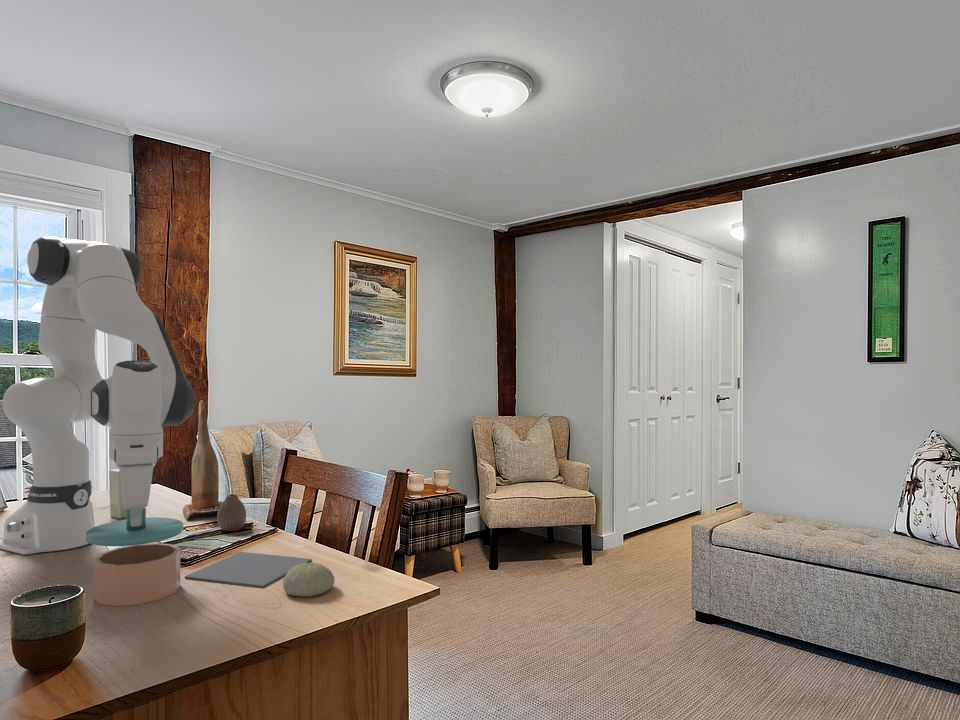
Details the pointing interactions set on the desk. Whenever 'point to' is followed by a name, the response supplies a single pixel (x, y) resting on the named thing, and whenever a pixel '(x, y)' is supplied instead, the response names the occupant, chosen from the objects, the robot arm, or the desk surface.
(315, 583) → the sea urchin shell
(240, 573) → the mat
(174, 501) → the desk surface
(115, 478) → the box
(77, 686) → the desk surface
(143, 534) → the lid
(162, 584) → the bowl
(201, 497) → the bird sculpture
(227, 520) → the vase
